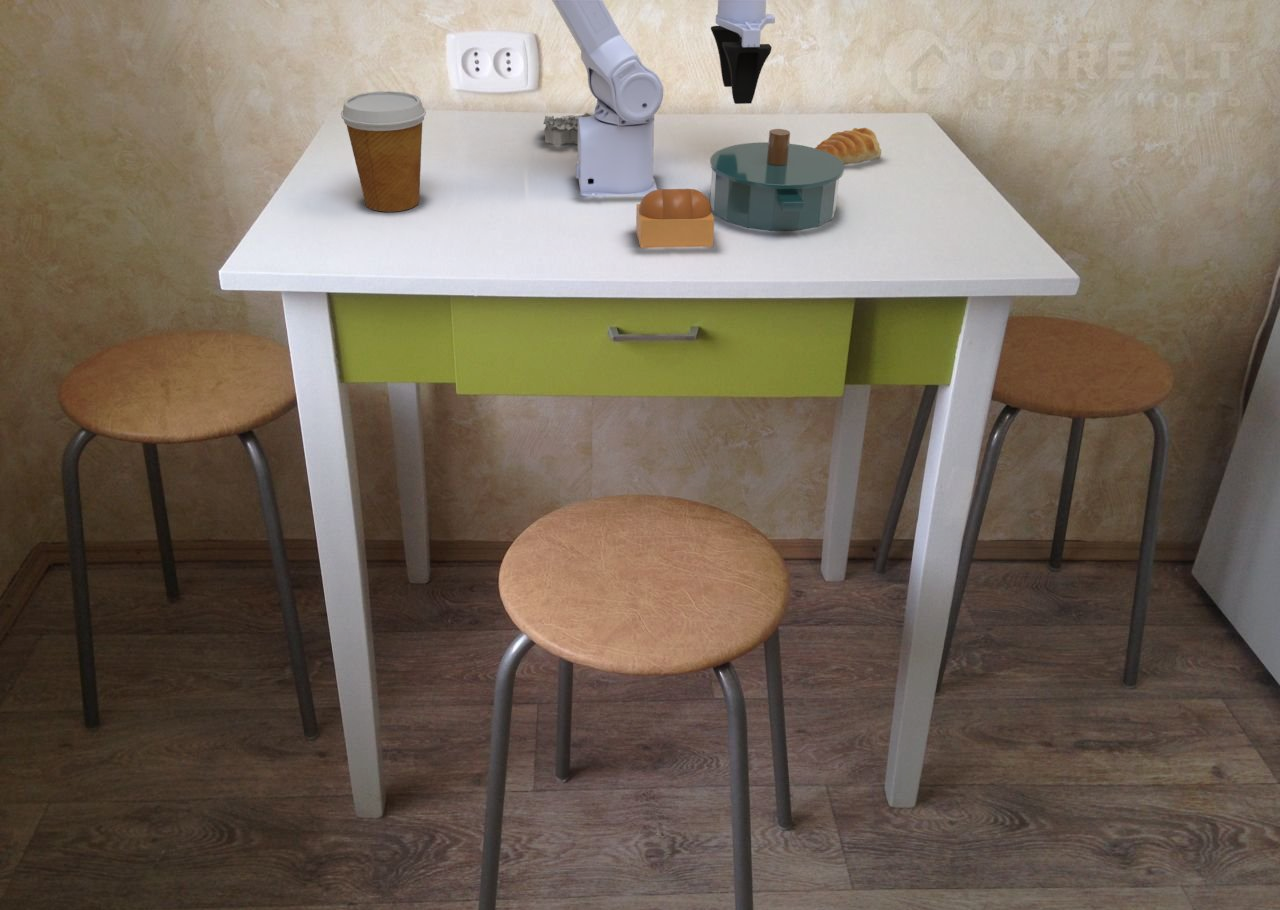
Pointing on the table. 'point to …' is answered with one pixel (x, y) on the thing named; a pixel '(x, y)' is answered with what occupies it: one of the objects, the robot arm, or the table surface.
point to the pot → (772, 205)
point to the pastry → (852, 145)
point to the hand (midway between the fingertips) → (737, 94)
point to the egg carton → (562, 129)
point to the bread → (674, 219)
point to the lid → (777, 164)
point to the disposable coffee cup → (386, 147)
